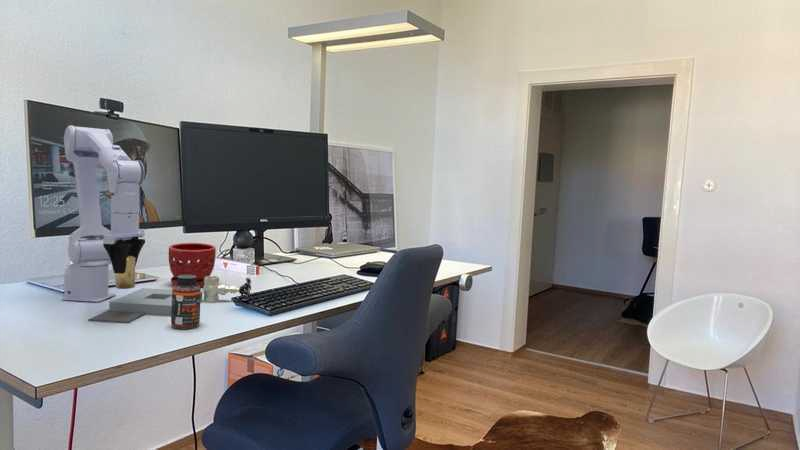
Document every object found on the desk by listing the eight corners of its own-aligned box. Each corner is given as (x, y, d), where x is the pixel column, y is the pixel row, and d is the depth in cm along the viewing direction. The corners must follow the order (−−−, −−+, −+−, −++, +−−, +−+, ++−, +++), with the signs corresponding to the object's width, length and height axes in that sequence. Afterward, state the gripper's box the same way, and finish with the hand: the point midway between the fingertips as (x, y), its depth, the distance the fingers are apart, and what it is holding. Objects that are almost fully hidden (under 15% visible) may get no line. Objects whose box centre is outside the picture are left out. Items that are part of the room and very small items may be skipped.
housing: (109, 312, 125) (109, 302, 125) (142, 297, 141) (142, 288, 141) (176, 316, 125) (176, 306, 125) (202, 300, 141) (202, 291, 141)
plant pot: (158, 284, 157) (159, 244, 156) (196, 279, 168) (197, 241, 167) (186, 292, 150) (187, 250, 149) (224, 285, 161) (225, 246, 160)
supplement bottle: (182, 331, 114) (183, 279, 113) (165, 326, 117) (166, 275, 116) (205, 325, 119) (206, 276, 118) (188, 320, 122) (189, 272, 121)
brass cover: (112, 288, 121) (112, 256, 120) (120, 284, 125) (120, 254, 124) (130, 289, 121) (130, 257, 120) (137, 285, 125) (138, 255, 124)
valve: (200, 304, 138) (247, 305, 140) (200, 279, 137) (248, 280, 139) (205, 298, 144) (250, 299, 146) (206, 274, 144) (251, 275, 146)
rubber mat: (88, 320, 118) (88, 319, 118) (110, 310, 127) (110, 309, 127) (128, 323, 118) (128, 321, 118) (147, 312, 127) (148, 311, 127)
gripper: (126, 216, 114) (125, 278, 115) (157, 211, 128) (156, 267, 130) (93, 214, 114) (93, 276, 115) (128, 210, 128) (127, 265, 130)
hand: (124, 271), depth 122 cm, fingers closed on brass cover, 4 cm apart
